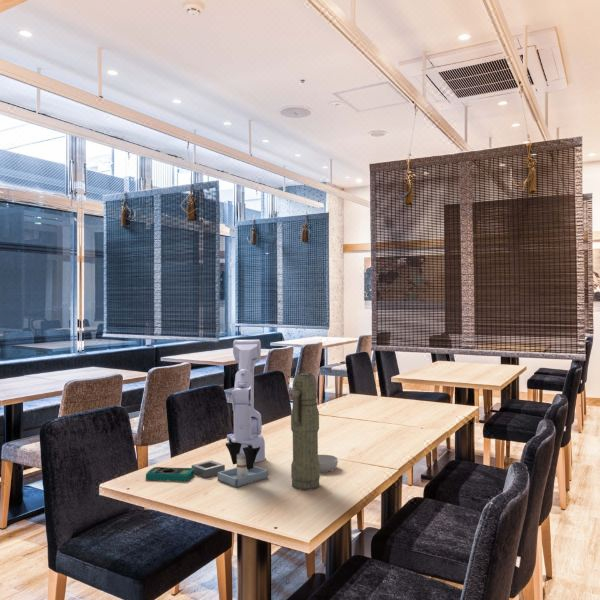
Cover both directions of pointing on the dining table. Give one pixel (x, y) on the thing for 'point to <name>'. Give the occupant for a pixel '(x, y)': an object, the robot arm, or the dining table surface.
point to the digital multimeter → (170, 474)
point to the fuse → (241, 466)
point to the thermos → (305, 433)
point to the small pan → (327, 462)
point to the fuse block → (208, 468)
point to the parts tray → (231, 477)
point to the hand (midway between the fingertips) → (242, 466)
